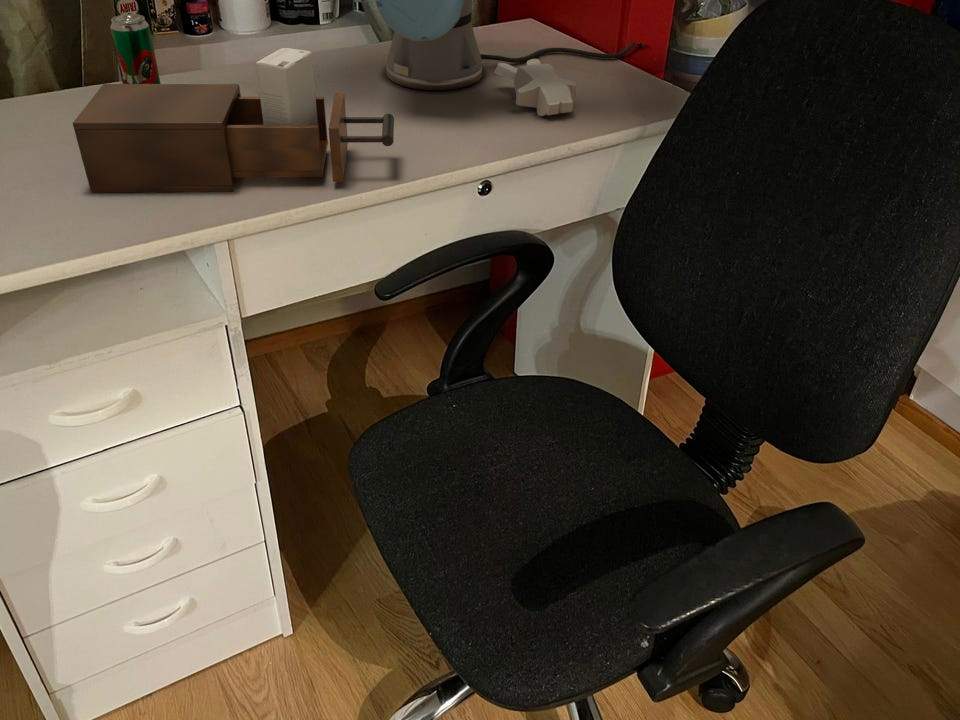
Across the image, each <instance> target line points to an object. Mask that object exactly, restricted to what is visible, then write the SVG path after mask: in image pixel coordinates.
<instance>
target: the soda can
mask: <svg viewBox="0 0 960 720" xmlns="http://www.w3.org/2000/svg"><path fill="white" fill-rule="evenodd" d="M110 22H111V24H110V27H109V30H110V35H111V37H112V38H111V39H112V43H113V48H114V51H115V56H116V57H115V58H116V61H117V65H118V70H119V74H120V78H121V84H162V83H161V78H160V74H159V68H158V64H157V59H156V53H155V48H154V44H153V38H152V33H151V28H150V24H148V22H147V21H146V18H145V16H144V15H141V14H137V13H136V14H135V13H127V14H120V15H116V16H114V17H112V18H111V19H110Z"/></svg>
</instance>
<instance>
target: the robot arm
mask: <svg viewBox="0 0 960 720" xmlns="http://www.w3.org/2000/svg"><path fill="white" fill-rule="evenodd" d="M375 4H376V8H377V10H378V12H379V13H378V14H379V15H380V17H381V18H382V20H383V21H384V23H385V24H386V26H388V28H390V29H391V30H392V31H393V36H392V40H391V43H390V46H389V50H388V53H387V57H386V62H385V63H386V64H385V67H386V70H385V71H386V76H387V79H390V81H392V82H394V83H395V84H397V85H400V86H403V87H406V88H410V89H414V90H415V89H416V90H423V91H424V90H425V91H447V90H455V89H456V90H457V89H462V88H464V87H468V86H472V85H475V83H477V82H478V81H480V80H481V78H482V77H483V60H486V61H487V60H489V61H499V62H503V63H510V64H512V63H513V64H517V63H525V62H527V61H529V60H531V59H536V58H537V57H539V56H541V55H544V54H550V53H566V54H573V55H579V56H584V57H590V58H597V59H616V58H620V57H623V56H625V55H627V54H628V53H629V52H630V51H631V50H632V49H633V48H634V47H635V46H637V47H638V48H639V49H645V45H644V44H643V42H641V43H640V44H637V45H635V44H636V43H635V42H632V41H631V42H632V43H631V42H630V43H629V44H628V45H627V47H625V48H624V49H623V50H620V51H618V52H614V53H602V52H593V51H588V50H582V49H578V48H577V49H576V48H570V47H547V48H542V49H539V50H536V51H535V52H532V53H530V54H528V55H525V56H522V57H510V56H509V57H508V56H502V55H496V54H485V53H484V54H483V53H480V49H479V45H478V43H477V39H476V36H475V32H474V28H473V0H375ZM634 45H635V46H634Z"/></svg>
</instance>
